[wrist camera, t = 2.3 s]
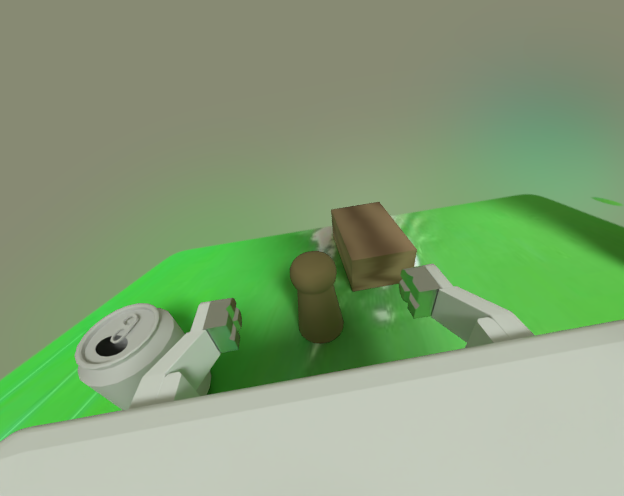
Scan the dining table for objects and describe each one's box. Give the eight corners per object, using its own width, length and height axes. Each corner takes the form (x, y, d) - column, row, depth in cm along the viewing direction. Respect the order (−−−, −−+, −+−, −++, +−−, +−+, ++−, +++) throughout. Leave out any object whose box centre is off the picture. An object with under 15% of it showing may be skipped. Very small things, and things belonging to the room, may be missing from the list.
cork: (300, 306, 36) (286, 245, 29) (342, 304, 35) (338, 241, 29) (296, 344, 31) (279, 281, 24) (345, 342, 30) (341, 278, 24)
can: (127, 422, 26) (38, 364, 19) (176, 356, 32) (122, 291, 24) (185, 443, 24) (110, 386, 17) (226, 368, 29) (183, 301, 22)
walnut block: (377, 229, 49) (379, 201, 46) (411, 281, 37) (416, 249, 33) (333, 236, 49) (331, 209, 45) (352, 291, 37) (351, 260, 33)
